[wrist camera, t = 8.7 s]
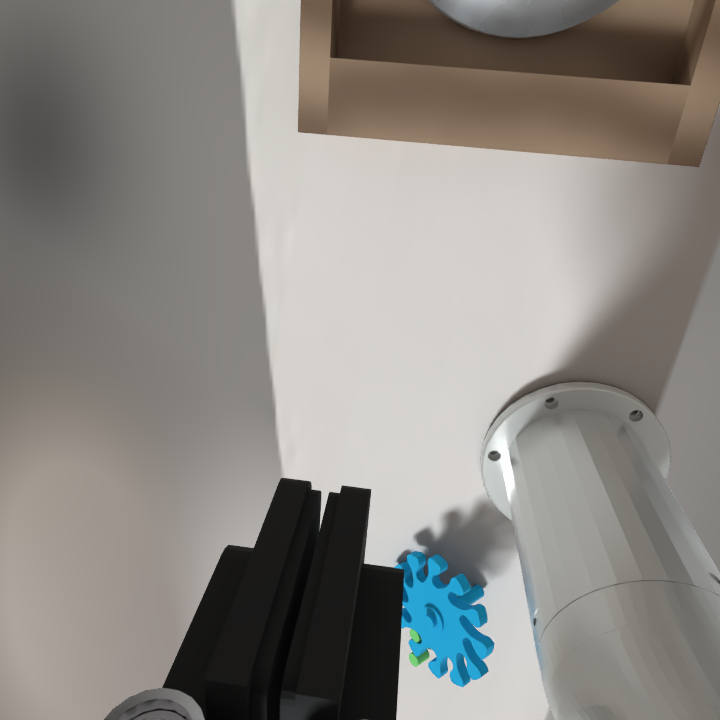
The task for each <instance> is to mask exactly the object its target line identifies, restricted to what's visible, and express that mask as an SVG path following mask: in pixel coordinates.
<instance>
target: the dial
mask: <svg viewBox="0 0 720 720" xmlns="http://www.w3.org/2000/svg"><path fill="white" fill-rule="evenodd" d="M427 1H428V2H429V3H430V4H431V5H432V6H433V7H434V8H435V9H436V10H438V11H439V12H440V13H442V14H443V15H445V16H446V17H447V18H449V19H450V20H452V21H453V22H455V23H457V24H459V25H461V26H463V27H465V28H467V29H469V30H472V31H475V32H478V33H481V34H484V35H488V36H494V37H499V38H514V39H524V38H532V37H540V36H545V35H549V34H552V33H556V32H560V31H563V30H565V29H568V28H570V27H572V26H575V25H577V24H580V23H582V22H585V21H587V20H589V19H591V18H592V17H594V16H596V15H598V14H599V13H601V12H603V11H605V10H606V9H608V8H609V7H611V6H612V5H613V4H615V3H616V2H618V1H619V0H427Z"/></svg>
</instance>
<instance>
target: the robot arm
mask: <svg viewBox="0 0 720 720" xmlns="http://www.w3.org/2000/svg"><path fill="white" fill-rule="evenodd" d="M548 398H551V399H548ZM480 460H481V473H482V479H483V484H484V487H485V489H486V492H487V494H488V496H489V498H490V499H491V501H492V502H493V503H494V505H495V506H496V508H497V509H498V510H499V511H500V512H502V513H503V514H504V515H505V516H506V517H507V518H508V519H510V520H511V521H513V527H514V532H515V538H516V543H517V548H518V554H519V559H520V565H521V570H522V576H523V581H524V586H525V592H526V597H527V603H528V608H529V614H530V619H531V625H532V630H533V635H534V641H535V646H536V652H537V657H538V661H539V667H540V672H541V678H542V683H543V687H544V691H545V694H546V698H547V701H548V704H549V706H550V709H551V711H552V713H553V716H554V718H555V720H720V573H719V571H718V569H717V568H716V566H715V564H714V563H713V561H712V559H711V557H710V556H709V554H708V552H707V551H706V549H705V547H704V545H703V544H702V542H701V540H700V539H699V537H698V535H697V534H696V532H695V530H694V528H693V527H692V525H691V523H690V522H689V520H688V518H687V517H686V515H685V513H684V512H683V510H682V508H681V506H680V505H679V503H678V501H677V499H676V498H675V496H674V495H673V493H672V491H671V489H670V488H669V486H668V484H667V483H666V479H667V476H668V473H669V469H670V461H671V452H670V445H669V440H668V438H667V435H666V433H665V431H664V428H663V426H662V425H661V423H660V422H659V420H658V419H657V417H656V416H655V414H654V413H653V412H652V411H651V410H650V409H649V408H648V407H647V406H646V405H645V404H644V403H643V402H642V401H640V400H639V399H637V398H636V397H634V396H633V395H631V394H630V393H627V392H625V391H623V390H620V389H618V388H616V387H613V386H608V385H604V384H600V383H592V382H570V383H560V384H556V385H552V386H548V387H544V388H541V389H539V390H536V391H534V392H532V393H530V394H527V395H525V396H523V397H522V398H520V399H519V400H517V401H516V402H514V403H513V404H511V405H510V406H509V407H508V408H507V409H506V410H505V411H504V412H503V413H501V414H500V415H499V416H498V417H497V419H496V420H495V422H494V423H493V425H492V426H491V427H490V429H489V430H488V433H487V435H486V437H485V440H484V442H483V446H482V451H481V457H480ZM370 497H371V489H364V488H357V487H349V486H342V488H341V491H340V493H333V492H330V493H329V496H328V500H327V504H326V508H325V512H324V516H323V520H322V524H321V528H320V511H321V491H318V490H311V482H310V481H303V480H295V479H287V478H281V479H280V482H279V484H278V486H277V489H276V492H275V494H274V497H273V500H272V502H271V505H270V508H269V510H268V513H267V515H266V518H265V520H264V523H263V526H262V528H261V531H260V533H259V536H258V539H257V541H256V544H255V547H254V548H248V547H240V546H233V545H228V546H227V547H226V548H225V550H224V551H223V553H222V555H221V557H220V559H219V562H218V564H217V566H216V568H215V571H214V573H213V575H212V577H211V580H210V582H209V584H208V587H207V589H206V591H205V593H204V595H203V598H202V600H201V602H200V604H199V606H198V609H197V611H196V613H195V615H194V618H193V620H192V622H191V624H190V627H189V629H188V631H187V633H186V636H185V638H184V640H183V643H182V645H181V647H180V649H179V652H178V654H177V656H176V658H175V661H174V663H173V665H172V667H171V669H170V672H169V674H168V676H167V678H166V681H165V683H164V685H163V687H162V688H158V689H151V690H145V691H143V692H141V693H138V694H136V695H134V696H131V697H129V698H128V699H126V700H125V701H123V702H122V703H121V704H119V705H118V706H116V707H115V708H114V709H113V710H112V711H111V712H110V713H109V714H108V715H107V717H106V718H105V719H104V720H396V712H397V695H398V677H399V659H400V641H401V623H402V605H403V587H404V569H399V568H392V567H385V566H377V565H370V564H364V557H365V547H366V537H367V527H368V517H369V507H370ZM319 530H320V532H319Z"/></svg>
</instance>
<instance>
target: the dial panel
mask: <svg viewBox="0 0 720 720" xmlns="http://www.w3.org/2000/svg"><path fill="white" fill-rule="evenodd" d="M719 102H720V0H619V1H618V2H616V3H615V4H613V5H612V6H611V7H609V8H608V9H606V10H605V11H603V12H601V13H599V14H598V15H596V16H594V17H592V18H591V19H589V20H587V21H585V22H582V23H580V24H577V25H575V26H572V27H570V28H568V29H565V30H563V31H560V32H556V33H552V34H549V35H545V36H540V37H532V38H524V39H514V38H499V37H494V36H488V35H484V34H481V33H478V32H475V31H472V30H469V29H467V28H465V27H463V26H461V25H459V24H457V23H455V22H453V21H452V20H450V19H449V18H447V17H446V16H445V15H443V14H442V13H440V12H439V11H438V10H436V9H435V8H434V7H433V6H432V5H431V4H430V3H429V2H428V1H427V0H301V18H300V65H299V111H298V132H302V133H314V134H325V135H337V136H349V137H360V138H372V139H383V140H395V141H406V142H418V143H429V144H441V145H452V146H464V147H475V148H487V149H499V150H510V151H522V152H533V153H545V154H556V155H568V156H579V157H591V158H602V159H614V160H625V161H637V162H649V163H660V164H672V165H683V166H695V167H699V165H700V162H701V159H702V156H703V152H704V149H705V146H706V143H707V140H708V137H709V134H710V130H711V127H712V124H713V121H714V118H715V115H716V112H717V108H718V105H719Z"/></svg>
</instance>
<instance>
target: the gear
mask: <svg viewBox="0 0 720 720" xmlns="http://www.w3.org/2000/svg"><path fill="white" fill-rule="evenodd" d="M425 564H426V557H425V554H423V553H421V552H417V551H414V552H413V553H411V554H409V555H407V561H405V562H403V563H401V564H399V565H397V566H395V567H394V568H399V569H404V587H403V606H404V607H405V608H403V609H402V623H401V628H404V627H409V628H412V629H411V630H410V635H411V638H412V639H411V640H409V645H410V647H411V649H412V651H413V652H412V653H410V654H409V659H410V662H411V663H412V665H414V666H418V665H420V664H421V663H422V662H424V661H425V660H427V659H428V658H429V652H428V650H427V648H428V649H432V650H433V651H434V652H435V654H436V656H437V657H436V658H435V659H433V660H432V661H430V662H429V664H428V666H429V669H430V670H431V671H432V673H433V674H434V675H435V676H436V677H437V678H440V677H442V676H443V675H444V674H446V673H447V672H448V667H447V658H449V659H450V660H451V661H452V663H453V670H452V671H451V672H450V678H451V681H452V682H453V683H454V684H456V685H458V686H461V687H464V686H465V685H466V684H467V683H469V682H470V677H471V679H473V680H477V679H479V678H480V677H482V676H483V675H484V674H486V673H487V672H488V668H487V666H486V664H485V663H484V662H483V661H482V660H481V659H484V658H486V657H487V656H488V655H490V654H491V653H492V651H493V648H494V642H493V641H492V640H491V639H490V638H489V637H488V636H485V635H483V634H481V633H480V632H479V631H478V630H477V629H476V628H475V627H481V626H482V625H484V624H485V623H487V613H486V609H485V607H484V606H483V605H481V604H477V605H471V604H472V603H474V602H475V601H477V600H478V599H480V598H481V597H483V596H484V591H483V589H482V587H481V586H480V585H475V586H473V587H472V588H471V586H470V584H469V582H468V580H467V578H466V577H465V575H464V574H462V573H461V574H459V575H457V576H455V577H453V578H452V579H451V580H450V583H449V584H447V585H446V584H444V583H442V581H441V580H440V578H439V574H440V573H442V572H444V571H445V570H447V568H448V563H447V562H446V561H445V560H444V558H442V557H441V556H440V555H438V554H436V555H434V556H432V557H430V558H429V559H428V577H426V575H425V574H424V571H423V567H424V565H425ZM412 574H413V578H412ZM456 595H458V596H456ZM473 625H474V626H475V627H474V626H473ZM464 657H465V658H466V661H467V668H466V666H465V663H464Z"/></svg>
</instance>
